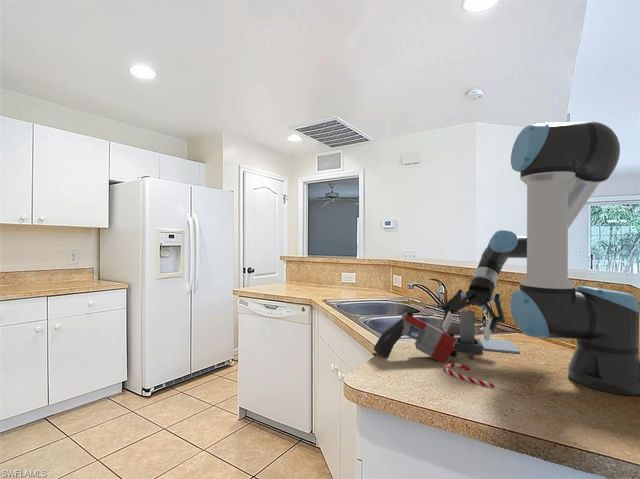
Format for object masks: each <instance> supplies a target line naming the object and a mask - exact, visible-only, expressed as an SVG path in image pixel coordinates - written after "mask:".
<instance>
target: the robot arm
mask: <svg viewBox="0 0 640 479" xmlns="http://www.w3.org/2000/svg"><path fill="white" fill-rule="evenodd" d="M620 144H621V143H620V142H619V138H618V136H617V134H616V133H615V131H614V130H613V129H612V128H611V127H609V126H608V125H606V124H604V123H601V122H597V121H593V120H592V121H591V120H589V121H587V120H586V121H577V122H576V121H575V122H542V123H535V124H529V125H527V126H525V127H524V128H523V129H522V130H521V131H519V133H518V135H517V137H516V138H515V140H514V143H513V145H512V149H511V152H510V153H511V154H510V165H511V169H512V170H513V171H515V172H517V173H520V181H522V182H523V183H524V184H525V185H526V189H527V190H526V235H517V234H516V233H515V232H514V231H512V230H511V231H510V230H508V229H499V230H497V231H495V232H494V234H493V235H492V236H491V238H490V239H489V242H488V244H487V246H486V248H485V249H484V251H483V252H482V253H481V257H480V260H479V263H478V265H477V268H476V270H475V272H474V274H473V277H472V280H471V282H470V284H469V287H468V290H467V291H463V290H462V289H458V290H457V293H455V295H453V296H452V297H451V298H450V299H449V300H448V301H447V302H446V303H445V304H444V305H442V307H441V309H442V311H443V312H444V316H443V319H442V320H443V323H442V326H441V328H442V330H443V332H445V333H447V332H448V330H449V328H450V325H451V323H452V321H453V318H454V314H455V313H457V312H458V311H459V312H460V311H461V310H462V309H464V308H467V307H469V306H477V307H483V306H484V308H485V309H486V311H487V312H488V314H489V316H490V317H489V319H488V321H487V324H486V327H485V330H484V332H483V337H484V338H485V340H486V341H489V339H491V338H490V336H491V335H492V332H495V331H496V329H497V327H498V323H503V324H504V323H506V318H505V315H504V311H503V308H502V304H501V302H502V299H501V296H500V294H499V293H495V294H494V291H495V288H496V286H497V283H498V279H499V278H500V274H501V272H502V269H503V267H504V265H505V264H506V262H507V261H508V260H509V258H510V259H526V277H525V278H523V280H521V281H520V282H519V289H517V290H515V291H513V292H512V294H511V296H510V301H509V302H510V303H509V304H510V312H511V315H512V318H513V321H514V323H515V325H516V328H518V329H519V331H520V332H521V333H523V335H526V336H527V337H531V338H540V339H541V338H542V340H543V339H544V340H545V339H562V340H563V339H564V340H565V339H567V340H576V348H575V350H574V352H573V354H572V357H571V359H570V361H569V364H568V372H567V374H568V376H569V378H570V379H572V380H573V381H575V382H577V383H579V384H581V385H583V386H586V387H589V388H592V389H595V390H598V391H602V392H606V393H612V394H617V395H622V396H623V395H624V396H640V352H639V351H640V348H639V347H640V340H639V339H640V333H639V332H640V331H639V330H640V329H639V327H640V326H639V325H640V324H639V323H640V322H639V320H640V318H639V317H640V309H639V308H640V306H639V301H638V300H639V299H638V298H637V296H635V295H634V294H632V293H628V292H624V291H617V290H611V289H606V288H600V287H593V286H585V285H577V287H576V285H575V284H574V283H573V282H571V281H570V280H569V276H568V275H569V272H568V271H569V266H568V265H569V264H568V262H569V228H570V227H571V225H572V224H573V223H574V221H575V219H576V218H577V217H578V215H579V214H580V212H581V211H582V209H583V208H584V207H585V205H586V203H587V202H588V200H589V199H590V198H591V196H592V195H593V194H594V192H595V190H596V189H597V188H598V186H599V185H600V183H603V182H607V180H608V179H609V178H610V177H611V175H612V174H613V172H614V171H615V169H616V167H617V165H618V163H619V160H620V153H621V145H620ZM491 301H493V303H495V307H496V311H497V314H498V316H497V315H496V313H495V312H494V310H493V309H492V307H491V306H490V304H489V302H491Z"/></svg>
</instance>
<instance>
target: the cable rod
mask: <svg viewBox="0 0 640 479" xmlns="http://www.w3.org/2000/svg"><path fill="white" fill-rule="evenodd" d="M475 323H476V312H475V311H473V310H471V307H464V308H463V310H462V309H461V310H459V337H460V343H465V344H475V339H476V337H475V336H476V324H475Z"/></svg>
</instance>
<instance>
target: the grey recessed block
mask: <svg viewBox="0 0 640 479" xmlns="http://www.w3.org/2000/svg"><path fill="white" fill-rule="evenodd" d="M454 337H455V338H456V339H457V340H456V342H458V346H457V348H456V349H454V350H455V351H457V352H461V353H467V355H468V359H469V360H473V357H474V355H473V354H480V355H481V354H484V352H483V351H484V349H483V345H482V344H481V342H480V340H479V338H475V344H465V343H460V336H454Z"/></svg>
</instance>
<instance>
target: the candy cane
mask: <svg viewBox="0 0 640 479" xmlns="http://www.w3.org/2000/svg"><path fill="white" fill-rule="evenodd" d="M453 368H459V369H463V370H464V371H470V370H471V368H470V367H469V366H467V365H464V364H461V363H455V362H451V363H447V364H445V365H444V366H443V371H444V373H446V374H447V375H450V376H452V377H454V378H457V379H459V380H463V381H465V382H468V383H471V384H476V385H477V386H478V385H479V386H483V387H486V388H490V389H495V388H496V385H495V383H492V382H488V381H485V380H481V379H477V378H473V377H470V376H467V375H463V374H460V373H458V372H455V371H453V370H451V369H453Z"/></svg>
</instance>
